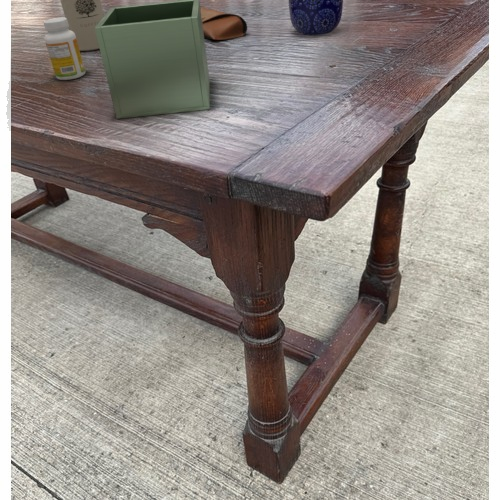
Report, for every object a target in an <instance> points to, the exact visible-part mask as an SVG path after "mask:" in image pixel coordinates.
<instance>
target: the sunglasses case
mask: <svg viewBox="0 0 500 500" xmlns="http://www.w3.org/2000/svg"><path fill="white" fill-rule="evenodd" d="M200 9H201V17H202V25H203V33H204V39H207V40H214V41H223V40H225V41H226V40H231V39H236V38H240V37H244V36H245V35H246V34H247V31H248V24H247V21H246V20H245V19H244V18H243V17H242V16H240V15H238V14H235V13H226V12H223V11H220V10H215V9H210V8H206V7H203V6H202V5H200Z"/></svg>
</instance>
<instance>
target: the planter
mask: <svg viewBox="0 0 500 500" xmlns="http://www.w3.org/2000/svg"><path fill="white" fill-rule="evenodd" d="M343 8H344V0H288V9H289V10H288V11H289V19H290V23H291V25H292V27H293V29H294V30H295V31H296V32H297V33H299V34H301V35H304V36H322V35H327V34H330V33H332V32H334V31H335V30H336V29H337V27H338V26H339V25H340V23H341V20H342V16H343Z"/></svg>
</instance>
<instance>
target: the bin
mask: <svg viewBox="0 0 500 500" xmlns="http://www.w3.org/2000/svg"><path fill="white" fill-rule="evenodd" d="M200 6H201V2H200V0H174V1H164V2H154V3H143V4H135V5H125V6H114V7H110V8H109V9H108V11H107V12H106V13H104V17H103V18H102V19H101V21H100V22H99V23H98V24H97V26H96V27H95V32H96V36H97V41H98V45H99V49H98V50H99V53H100V56H101V61H102V64H103V69H104V72H105V77H106V81H107V85H108V90H109V93H110V96H111V101H112V105H113V109H114V113H115V117H116V119H117V120H120V119H129V118H140V117H148V116H157V115H158V116H159V115H167V114H168V115H169V114H176V113H178V114H179V113H186V112H188V113H189V112H197V111H206V110H210V107H211V106H210V105H211V103H210V98H211V97H210V93H211V92H210V89H211V88H210V87H211V84H210V83H211V81H210V73H209V63H208V57H207V48H206V42H205V41H206V40H205V38H204V33H203V25H202V17H201V7H200Z"/></svg>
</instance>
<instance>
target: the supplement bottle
mask: <svg viewBox="0 0 500 500" xmlns="http://www.w3.org/2000/svg"><path fill="white" fill-rule="evenodd" d="M43 26H44V29H45V31H47V33H46V34H45V35H44V37H43V39H44V43H45V46H46V49H47V50H46V51H47V53H48V55H49V60H50V62H51V63H50V64H51V66H52V69H53V73H54V76H55V78H56V79H57V80H60V81H70V80H71V81H72V80H75V79H78V78H81V77H83V76H84V75H85V74H86V69H85V68H86V67H85V65H84V62H83V61H84V60H83V58H82V54H81V51H80V50H79V46H78V43H77V39H76V36H75V33H74V32H73V31H71V30H69V29H68V27H69V24H68V21H67V18H65V16H61V17H60V16H59V17H53V18H49V19H46V20H43Z"/></svg>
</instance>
